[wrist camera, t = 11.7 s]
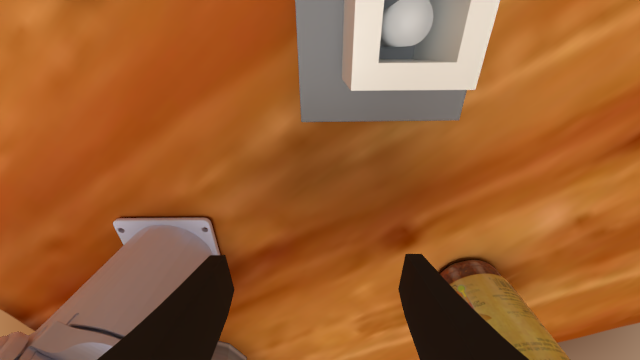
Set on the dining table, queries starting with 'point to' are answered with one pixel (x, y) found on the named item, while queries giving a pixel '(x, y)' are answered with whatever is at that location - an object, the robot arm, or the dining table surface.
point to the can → (227, 352)
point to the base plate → (396, 43)
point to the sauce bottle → (502, 309)
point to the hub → (418, 47)
